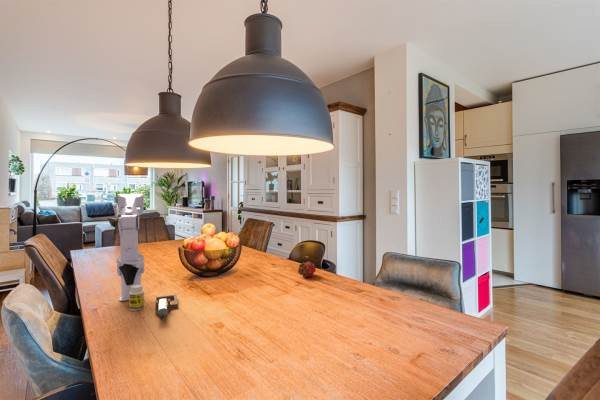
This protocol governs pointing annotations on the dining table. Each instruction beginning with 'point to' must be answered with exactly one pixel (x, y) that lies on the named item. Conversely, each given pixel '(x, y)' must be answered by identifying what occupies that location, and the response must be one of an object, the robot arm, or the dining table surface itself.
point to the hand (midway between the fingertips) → (129, 284)
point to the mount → (169, 306)
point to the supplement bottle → (136, 298)
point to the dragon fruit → (307, 269)
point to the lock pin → (162, 309)
